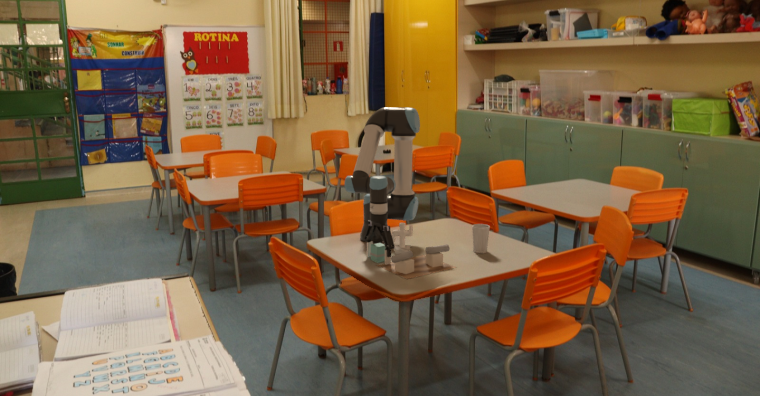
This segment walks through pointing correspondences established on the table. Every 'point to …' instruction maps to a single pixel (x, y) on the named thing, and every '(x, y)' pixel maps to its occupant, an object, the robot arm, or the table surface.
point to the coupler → (378, 252)
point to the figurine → (402, 238)
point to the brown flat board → (417, 268)
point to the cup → (480, 237)
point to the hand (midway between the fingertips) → (378, 260)
